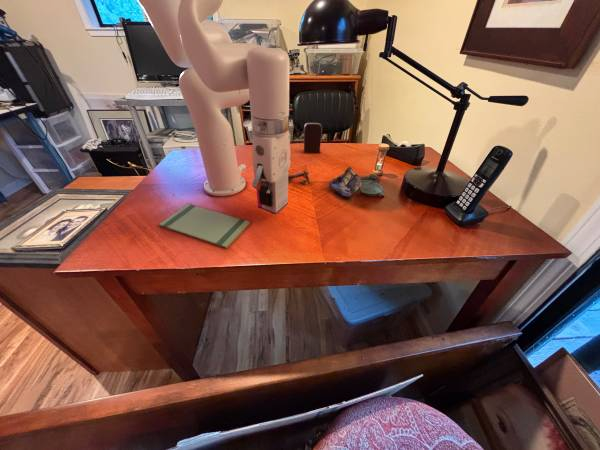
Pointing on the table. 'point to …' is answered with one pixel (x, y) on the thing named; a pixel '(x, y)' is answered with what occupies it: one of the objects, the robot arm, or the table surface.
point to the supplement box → (277, 193)
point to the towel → (205, 225)
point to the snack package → (346, 183)
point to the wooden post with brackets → (300, 176)
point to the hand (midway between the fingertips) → (272, 197)
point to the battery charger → (312, 137)
